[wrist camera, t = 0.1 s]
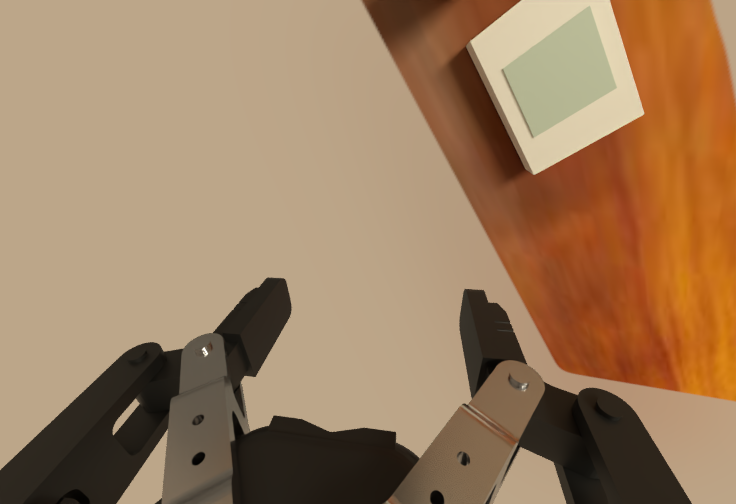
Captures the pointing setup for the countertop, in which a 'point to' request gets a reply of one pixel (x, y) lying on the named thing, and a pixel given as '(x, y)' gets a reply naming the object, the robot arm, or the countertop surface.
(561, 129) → the plinth
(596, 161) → the countertop surface
